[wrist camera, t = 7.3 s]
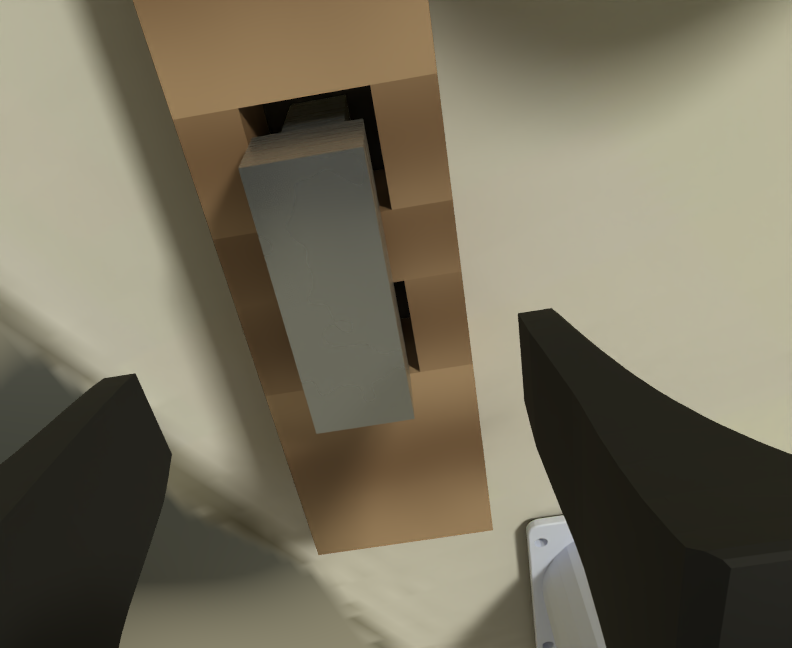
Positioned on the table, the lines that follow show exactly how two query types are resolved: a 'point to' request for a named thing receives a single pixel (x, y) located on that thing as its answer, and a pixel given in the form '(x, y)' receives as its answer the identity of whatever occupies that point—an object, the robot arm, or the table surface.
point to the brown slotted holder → (403, 228)
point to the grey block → (330, 265)
